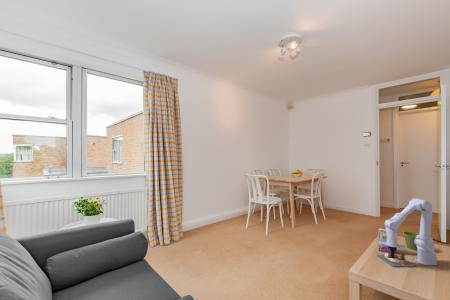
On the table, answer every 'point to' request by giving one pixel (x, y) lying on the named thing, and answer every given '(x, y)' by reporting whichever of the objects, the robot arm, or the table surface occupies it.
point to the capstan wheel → (396, 258)
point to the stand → (396, 263)
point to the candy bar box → (383, 239)
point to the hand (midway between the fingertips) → (392, 257)
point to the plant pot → (410, 239)
